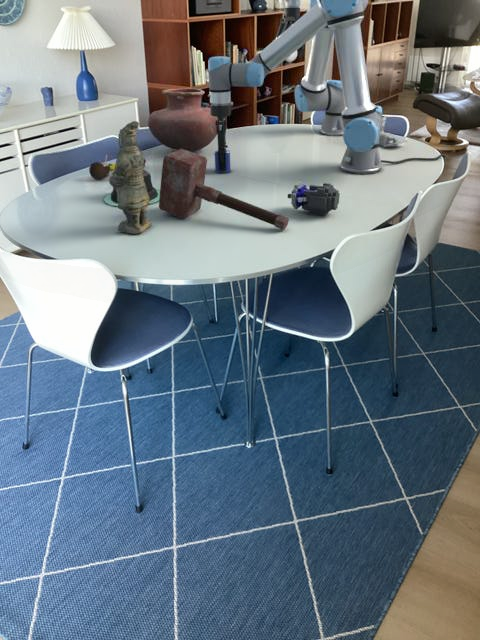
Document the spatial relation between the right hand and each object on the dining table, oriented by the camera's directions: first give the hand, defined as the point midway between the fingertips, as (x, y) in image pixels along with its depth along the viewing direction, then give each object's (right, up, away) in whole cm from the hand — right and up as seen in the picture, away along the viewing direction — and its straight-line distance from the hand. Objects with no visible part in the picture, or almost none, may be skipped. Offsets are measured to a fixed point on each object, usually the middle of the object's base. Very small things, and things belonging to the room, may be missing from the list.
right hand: (222, 167), depth 212 cm
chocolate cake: (-29, -17, -25) cm, 42 cm away
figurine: (-40, -2, +1) cm, 40 cm away
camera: (+71, +18, +30) cm, 79 cm away
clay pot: (-16, +15, +29) cm, 36 cm away
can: (0, -1, +1) cm, 1 cm away
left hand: (+32, +73, +63) cm, 101 cm away
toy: (+29, -25, -42) cm, 57 cm away
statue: (-24, -32, -50) cm, 64 cm away
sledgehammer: (+2, -29, -46) cm, 54 cm away
